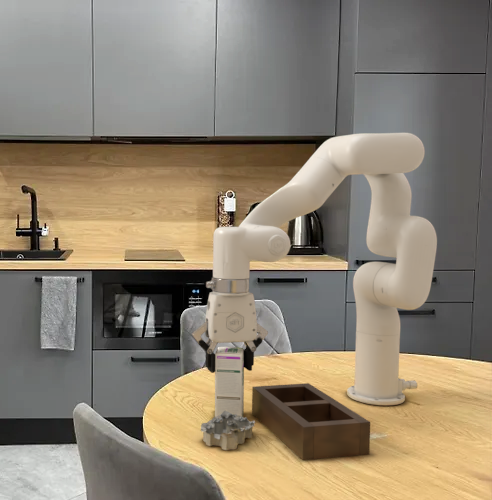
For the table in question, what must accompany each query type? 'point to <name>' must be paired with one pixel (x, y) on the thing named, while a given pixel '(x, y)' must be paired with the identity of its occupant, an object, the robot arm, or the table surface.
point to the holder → (311, 421)
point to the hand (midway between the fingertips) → (229, 369)
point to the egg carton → (227, 430)
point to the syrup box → (229, 380)
